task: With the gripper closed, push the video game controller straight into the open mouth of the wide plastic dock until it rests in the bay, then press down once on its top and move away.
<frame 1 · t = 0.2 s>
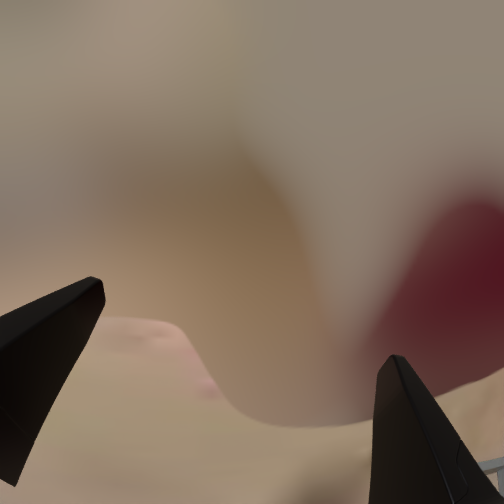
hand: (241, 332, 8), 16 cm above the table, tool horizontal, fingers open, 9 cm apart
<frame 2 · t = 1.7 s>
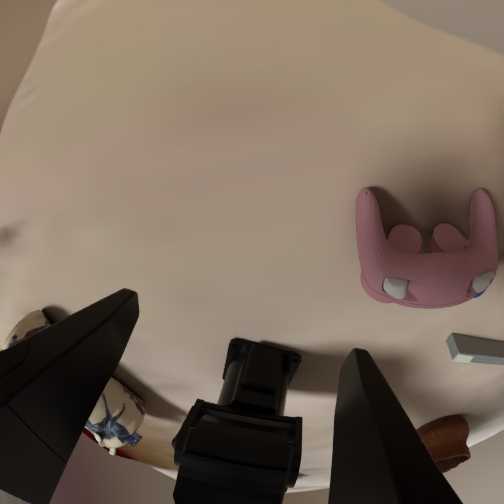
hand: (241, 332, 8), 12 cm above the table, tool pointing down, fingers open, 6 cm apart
video game controller: (420, 223, 18), on the table
ceramic pot: (438, 424, 31), on the table
pencil case: (88, 358, 35), on the table
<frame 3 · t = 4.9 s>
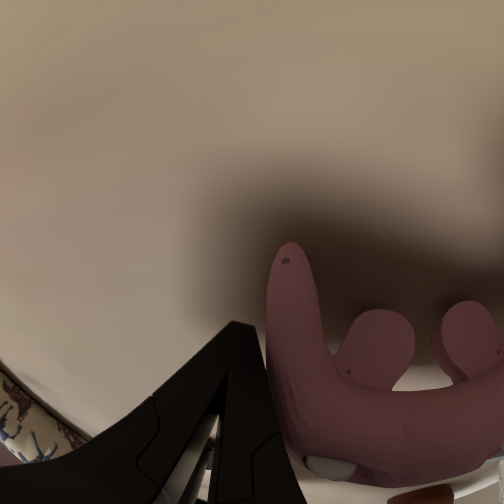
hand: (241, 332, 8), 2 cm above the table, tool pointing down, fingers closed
video game controller: (418, 298, 9), on the table, touching gripper
ceramic pot: (419, 490, 22), on the table
pencil case: (26, 392, 27), on the table
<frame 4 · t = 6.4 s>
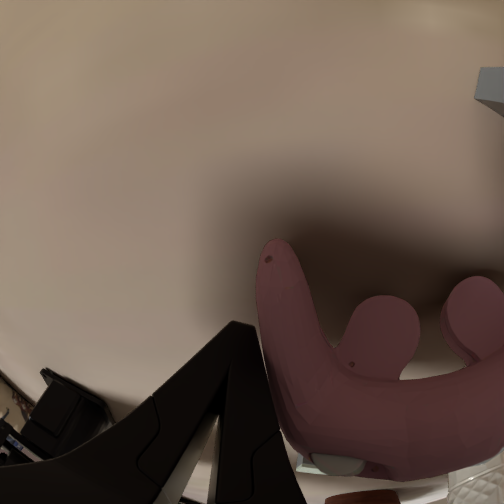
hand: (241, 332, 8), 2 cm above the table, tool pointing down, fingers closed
video game controller: (421, 279, 9), on the table, touching gripper
dock: (501, 349, 9), on the table
ceramic pot: (362, 493, 23), on the table
white cup: (478, 457, 16), on the table
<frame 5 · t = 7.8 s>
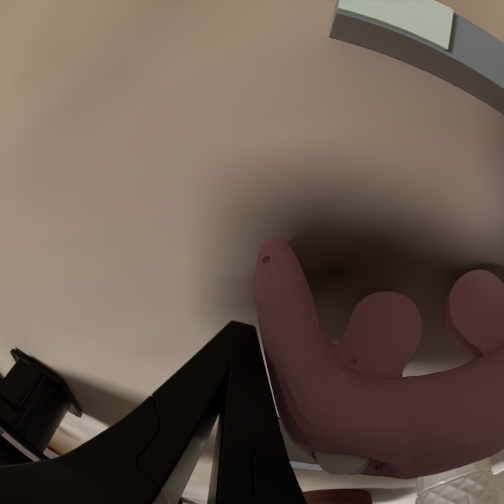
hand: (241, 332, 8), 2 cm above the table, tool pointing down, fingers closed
video game controller: (422, 274, 8), on the table, touching gripper
dock: (440, 336, 9), on the table
ceramic pot: (333, 491, 23), on the table
white cup: (452, 460, 16), on the table
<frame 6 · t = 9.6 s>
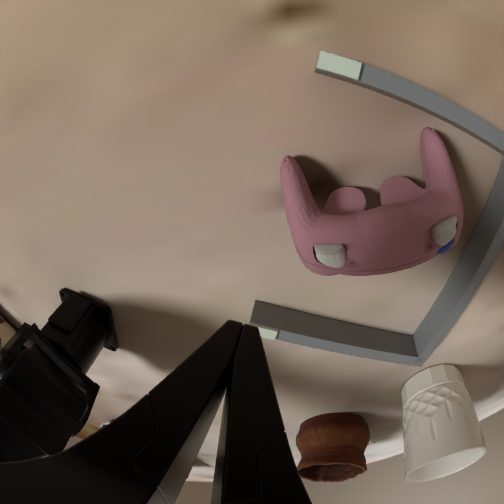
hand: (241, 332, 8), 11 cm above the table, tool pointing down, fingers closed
video game controller: (367, 183, 17), on the table
dock: (387, 231, 18), on the table
ceramic pot: (333, 422, 31), on the table
pencil case: (4, 319, 35), on the table
white cup: (430, 382, 25), on the table
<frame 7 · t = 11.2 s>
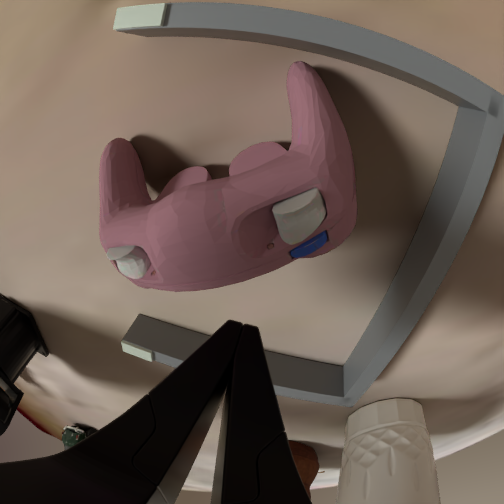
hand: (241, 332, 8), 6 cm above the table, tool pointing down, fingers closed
video game controller: (227, 158, 13), on the table
miniature car: (112, 445, 41), on the table
dock: (271, 231, 14), on the table
ceramic pot: (279, 447, 27), on the table
white cup: (384, 415, 20), on the table
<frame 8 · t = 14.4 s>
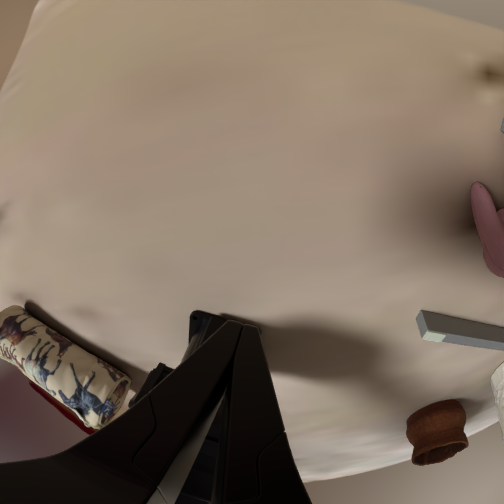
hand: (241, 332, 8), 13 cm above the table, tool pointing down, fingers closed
ceramic pot: (434, 410, 31), on the table
pencil case: (70, 343, 36), on the table
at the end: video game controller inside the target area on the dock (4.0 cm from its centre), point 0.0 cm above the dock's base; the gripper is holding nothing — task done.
